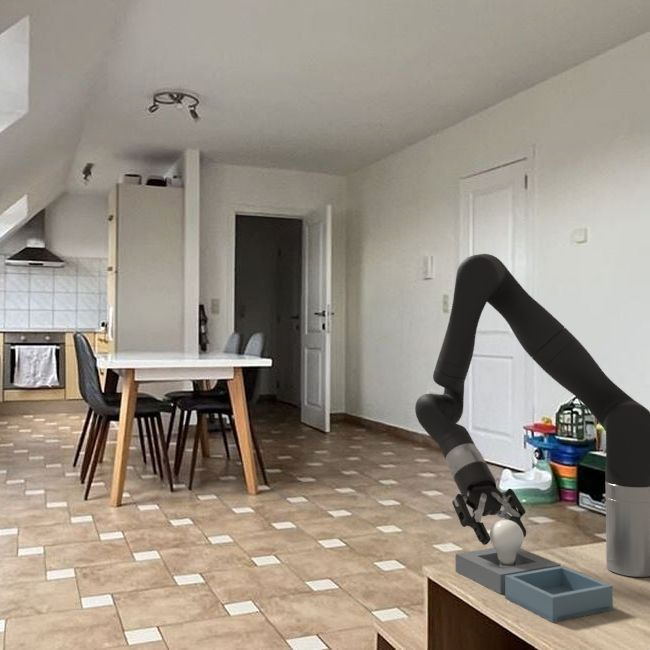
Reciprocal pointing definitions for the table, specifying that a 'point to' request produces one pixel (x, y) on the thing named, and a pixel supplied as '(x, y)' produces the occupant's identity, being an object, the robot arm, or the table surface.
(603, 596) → the parts tray
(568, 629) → the table surface
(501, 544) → the lightbulb
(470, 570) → the socket block
